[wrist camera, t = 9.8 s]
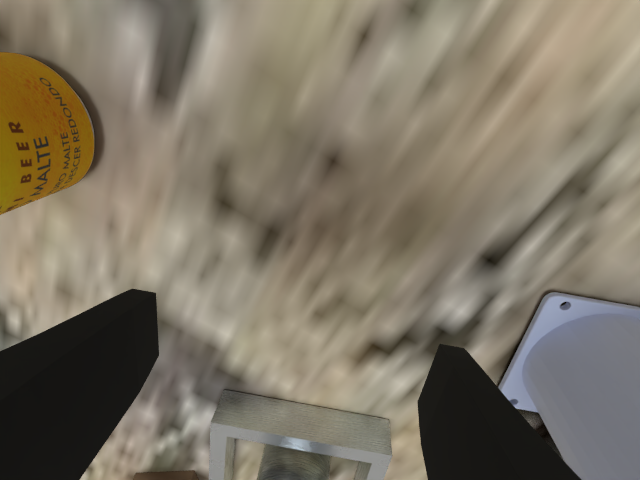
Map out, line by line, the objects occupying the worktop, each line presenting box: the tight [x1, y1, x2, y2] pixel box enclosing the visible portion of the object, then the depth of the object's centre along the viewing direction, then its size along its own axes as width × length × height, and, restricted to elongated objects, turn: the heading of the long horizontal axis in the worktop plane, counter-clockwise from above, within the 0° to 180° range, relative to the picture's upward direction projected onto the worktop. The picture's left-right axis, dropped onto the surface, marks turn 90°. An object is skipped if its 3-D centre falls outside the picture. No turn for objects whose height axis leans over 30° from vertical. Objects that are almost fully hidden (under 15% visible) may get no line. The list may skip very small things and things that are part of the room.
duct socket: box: [209, 389, 392, 480], centre depth 25 cm, size 11×12×2 cm
